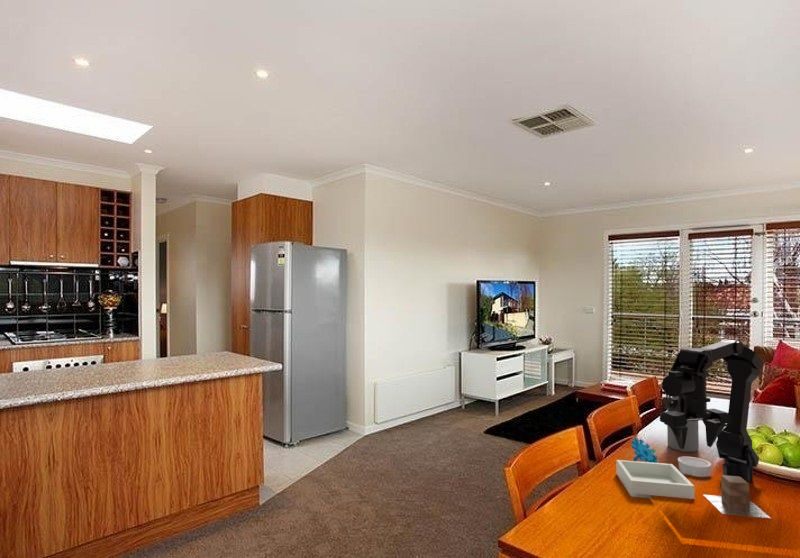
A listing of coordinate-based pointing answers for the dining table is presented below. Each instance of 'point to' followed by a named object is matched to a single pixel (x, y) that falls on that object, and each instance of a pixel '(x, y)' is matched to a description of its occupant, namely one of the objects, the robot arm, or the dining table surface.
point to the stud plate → (726, 510)
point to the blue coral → (643, 451)
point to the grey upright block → (735, 492)
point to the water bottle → (691, 437)
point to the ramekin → (694, 466)
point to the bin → (653, 480)
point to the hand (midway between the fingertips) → (695, 447)
